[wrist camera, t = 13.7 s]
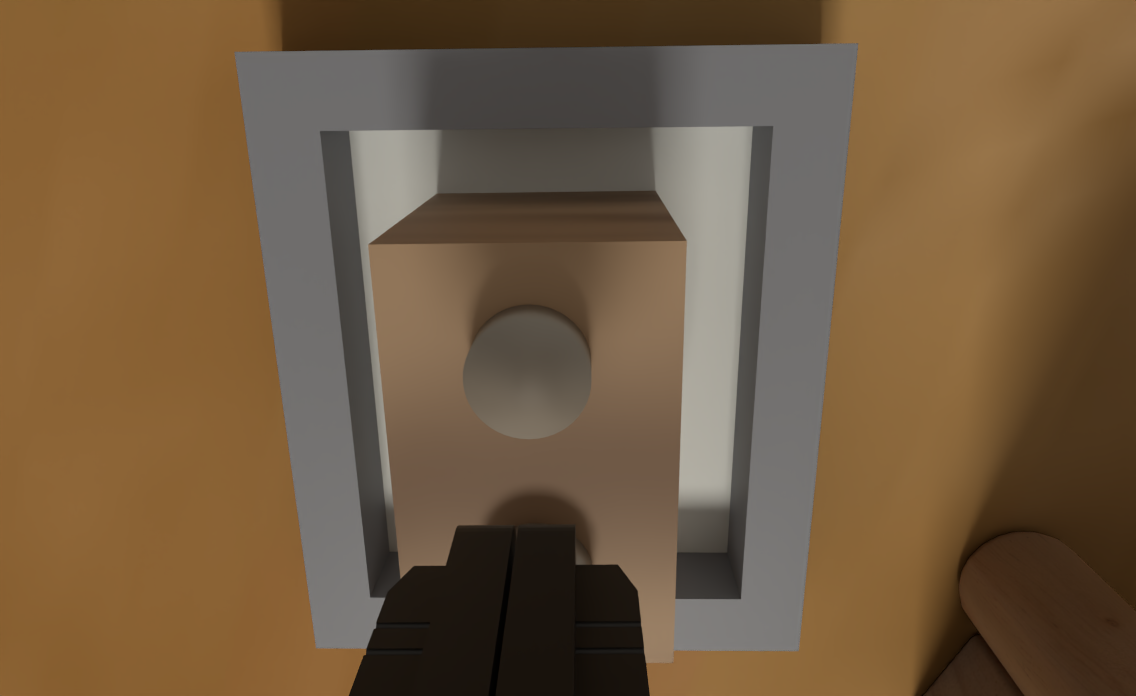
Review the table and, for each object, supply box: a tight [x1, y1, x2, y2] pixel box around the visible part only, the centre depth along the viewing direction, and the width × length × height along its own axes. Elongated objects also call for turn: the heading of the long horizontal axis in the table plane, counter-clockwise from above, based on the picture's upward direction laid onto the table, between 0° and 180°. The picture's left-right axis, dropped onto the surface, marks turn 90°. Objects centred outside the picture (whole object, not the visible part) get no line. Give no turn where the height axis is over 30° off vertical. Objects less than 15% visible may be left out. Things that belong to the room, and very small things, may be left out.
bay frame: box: [235, 43, 858, 651], centre depth 19 cm, size 14×12×2 cm
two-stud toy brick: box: [368, 191, 687, 663], centre depth 16 cm, size 8×5×7 cm, turn 1°
